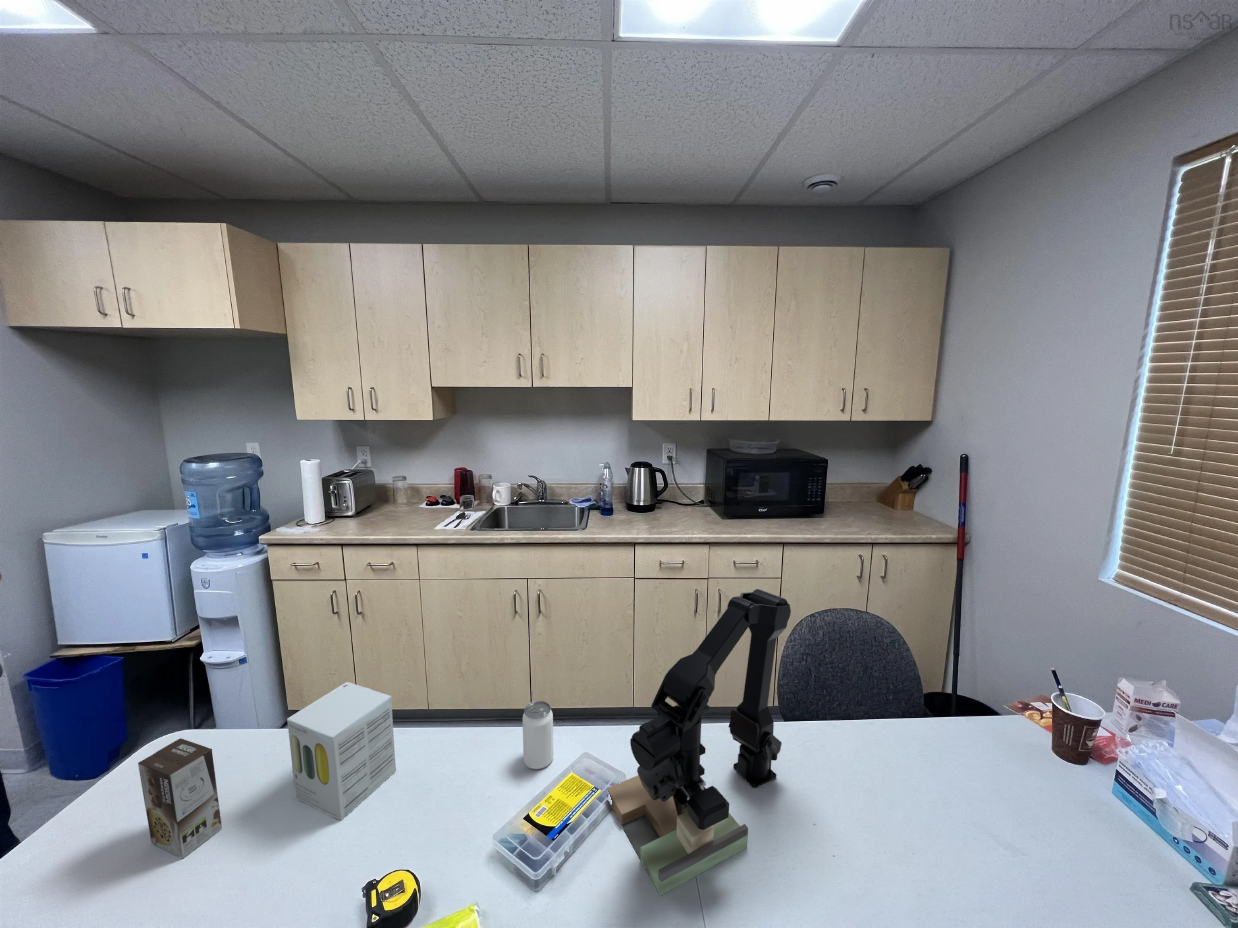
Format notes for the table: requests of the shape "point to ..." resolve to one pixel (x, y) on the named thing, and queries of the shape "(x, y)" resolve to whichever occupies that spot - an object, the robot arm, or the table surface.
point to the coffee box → (180, 796)
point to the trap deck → (669, 836)
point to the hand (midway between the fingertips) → (681, 816)
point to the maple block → (692, 833)
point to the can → (538, 735)
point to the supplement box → (342, 748)
